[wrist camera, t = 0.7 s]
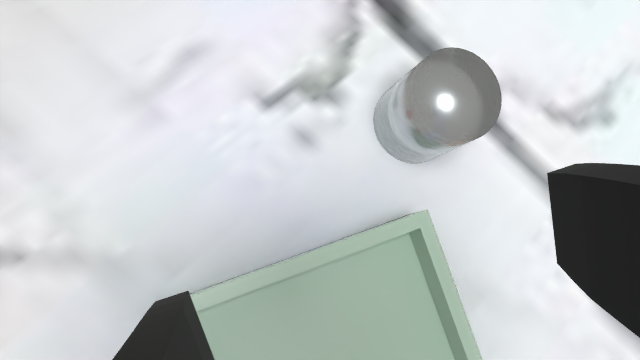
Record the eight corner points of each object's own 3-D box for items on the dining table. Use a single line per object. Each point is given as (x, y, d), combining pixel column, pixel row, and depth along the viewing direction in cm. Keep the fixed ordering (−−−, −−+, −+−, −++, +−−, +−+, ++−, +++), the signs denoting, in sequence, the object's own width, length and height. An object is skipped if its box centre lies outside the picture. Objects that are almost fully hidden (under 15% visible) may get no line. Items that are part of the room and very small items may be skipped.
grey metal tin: (459, 150, 35) (514, 125, 29) (389, 173, 34) (433, 153, 28) (432, 76, 35) (481, 37, 30) (362, 96, 34) (399, 60, 28)
